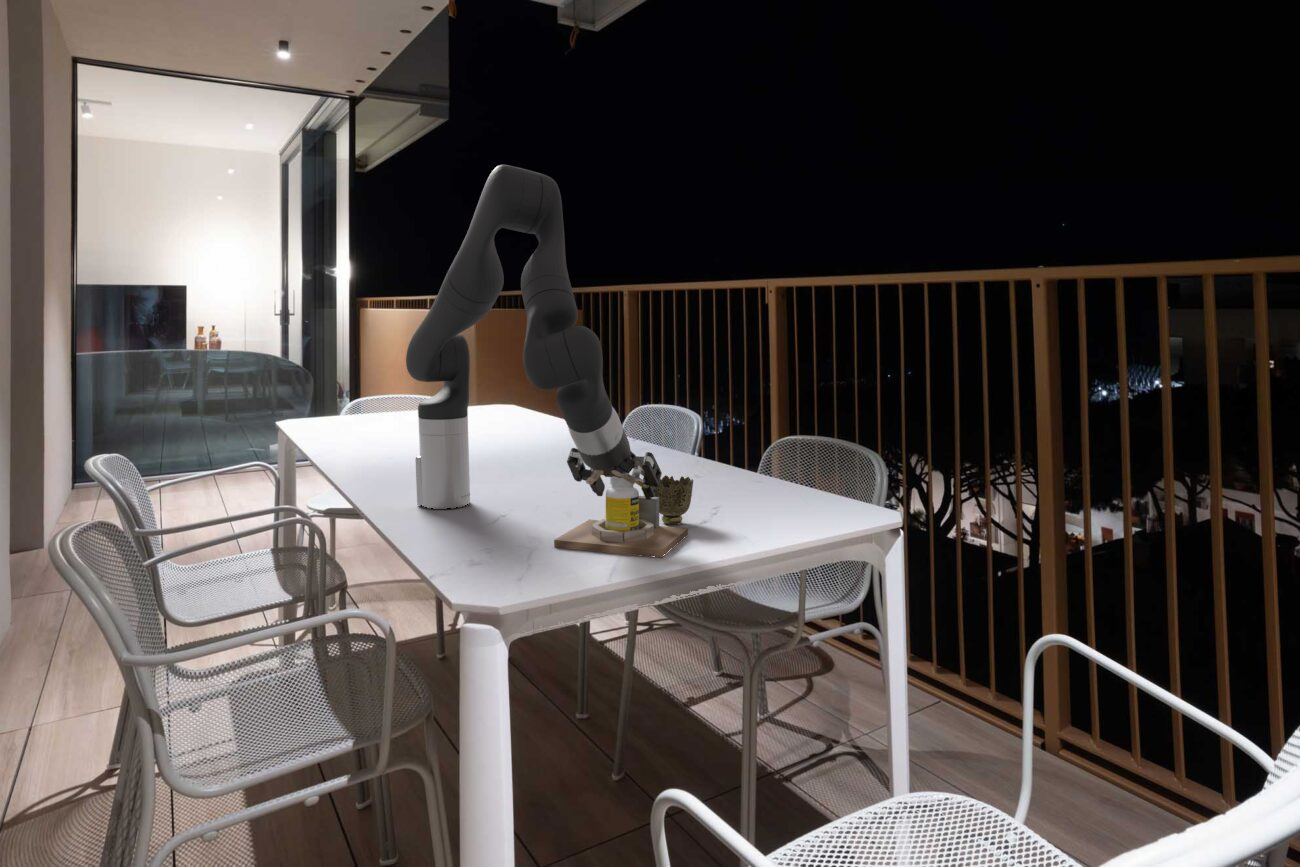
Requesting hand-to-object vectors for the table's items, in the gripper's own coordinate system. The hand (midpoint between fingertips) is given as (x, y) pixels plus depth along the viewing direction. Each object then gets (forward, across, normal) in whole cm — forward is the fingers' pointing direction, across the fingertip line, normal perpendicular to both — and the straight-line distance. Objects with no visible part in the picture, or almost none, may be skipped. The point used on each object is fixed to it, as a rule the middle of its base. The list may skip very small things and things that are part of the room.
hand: (625, 493), depth 133 cm
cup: (+15, -4, -3) cm, 16 cm away
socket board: (+5, 0, +6) cm, 8 cm away
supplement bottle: (+4, 0, +6) cm, 7 cm away
